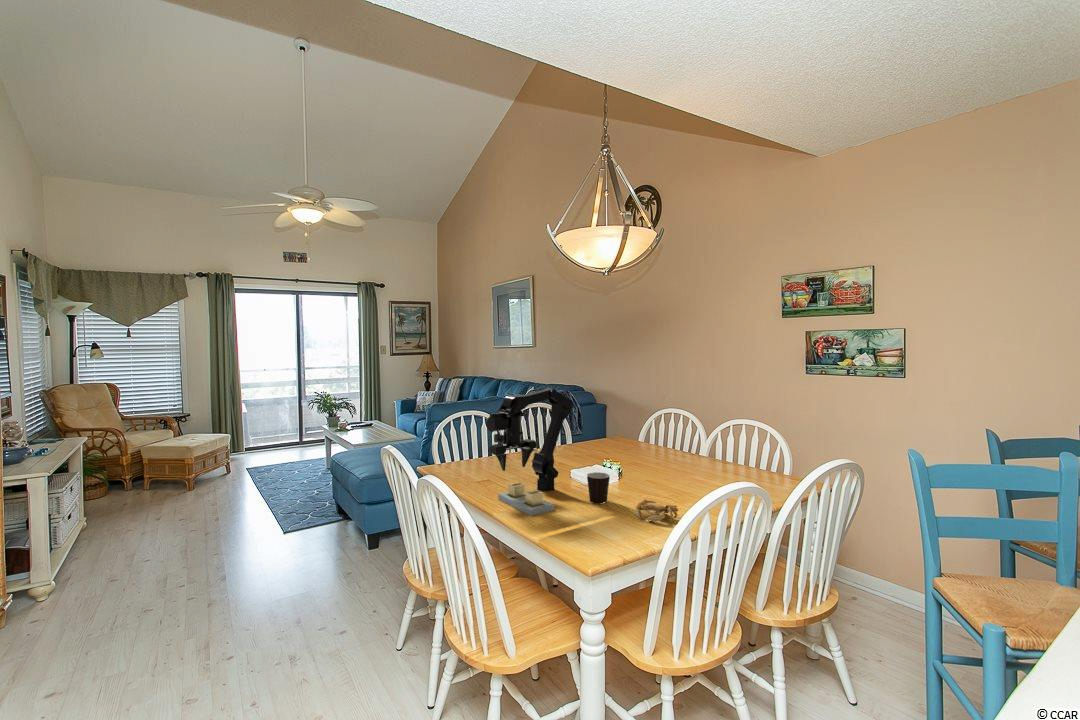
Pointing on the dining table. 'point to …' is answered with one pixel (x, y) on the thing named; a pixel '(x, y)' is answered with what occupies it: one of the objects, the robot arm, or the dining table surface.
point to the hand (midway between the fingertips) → (513, 468)
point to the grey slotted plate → (521, 504)
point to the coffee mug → (598, 486)
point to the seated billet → (534, 498)
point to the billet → (516, 490)
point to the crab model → (656, 507)
